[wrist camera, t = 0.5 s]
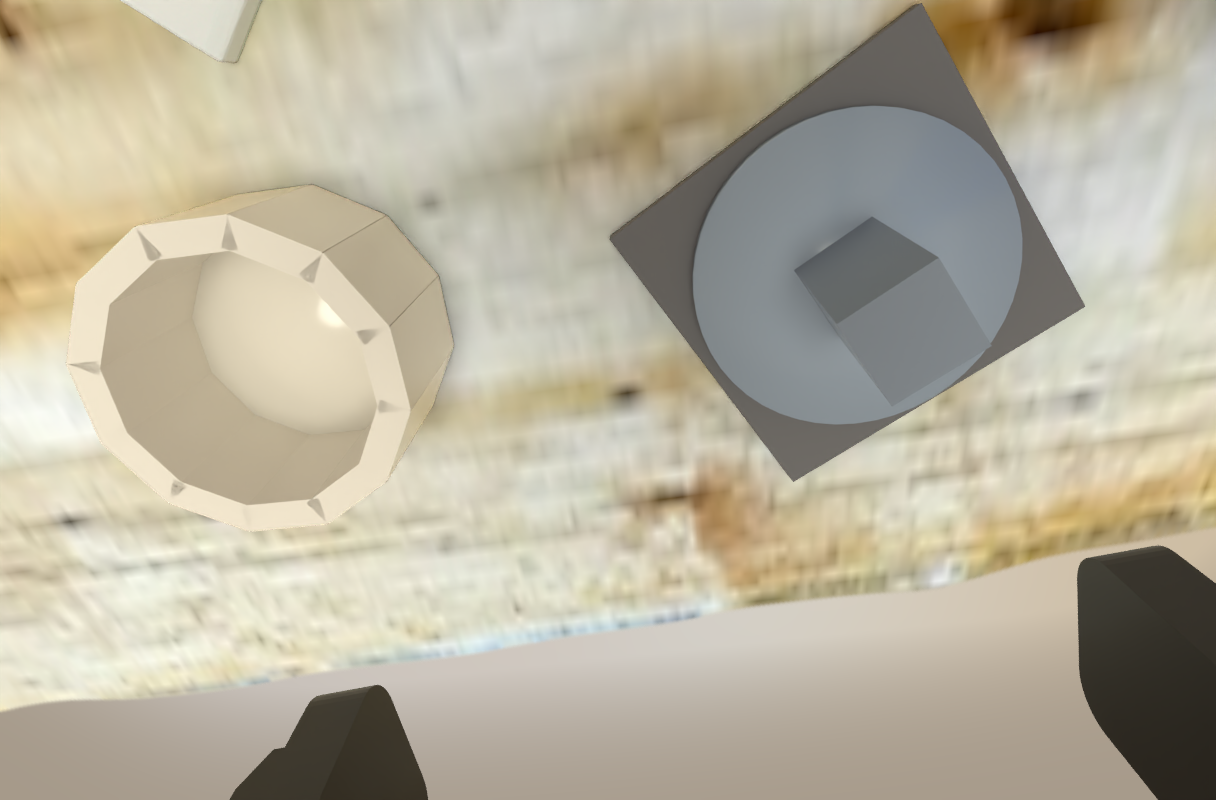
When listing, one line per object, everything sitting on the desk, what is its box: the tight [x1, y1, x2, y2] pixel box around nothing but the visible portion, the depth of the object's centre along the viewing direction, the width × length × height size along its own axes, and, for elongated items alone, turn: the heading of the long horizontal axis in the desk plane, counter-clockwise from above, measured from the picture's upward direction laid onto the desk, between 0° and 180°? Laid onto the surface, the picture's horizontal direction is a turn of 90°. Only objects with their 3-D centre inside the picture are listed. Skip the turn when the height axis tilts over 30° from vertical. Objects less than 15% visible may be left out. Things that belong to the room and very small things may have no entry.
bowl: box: [66, 184, 454, 532], centre depth 26 cm, size 10×10×6 cm
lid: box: [692, 105, 1022, 424], centre depth 23 cm, size 11×11×7 cm
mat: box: [610, 3, 1085, 482], centre depth 27 cm, size 12×12×1 cm
